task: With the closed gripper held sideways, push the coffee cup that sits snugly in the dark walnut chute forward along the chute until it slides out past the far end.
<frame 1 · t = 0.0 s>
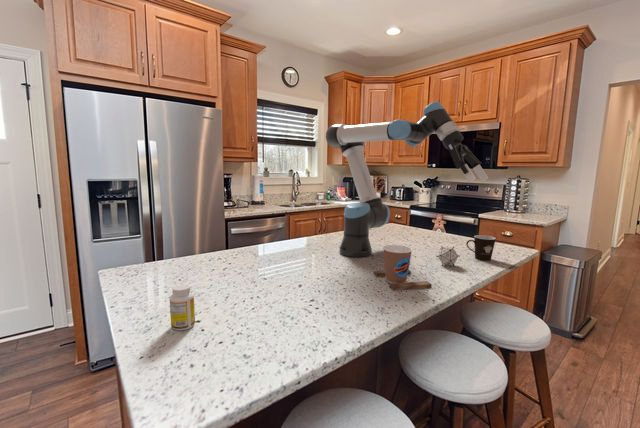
hand: (479, 180, 122), 36 cm above the countertop, tool tilted 35°, fingers open, 13 cm apart
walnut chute: (400, 280, 116), on the countertop
game die: (447, 265, 135), on the countertop
coffee cup: (395, 281, 115), on the countertop
coffee mug: (479, 258, 146), on the countertop
supplement bottle: (183, 326, 81), on the countertop
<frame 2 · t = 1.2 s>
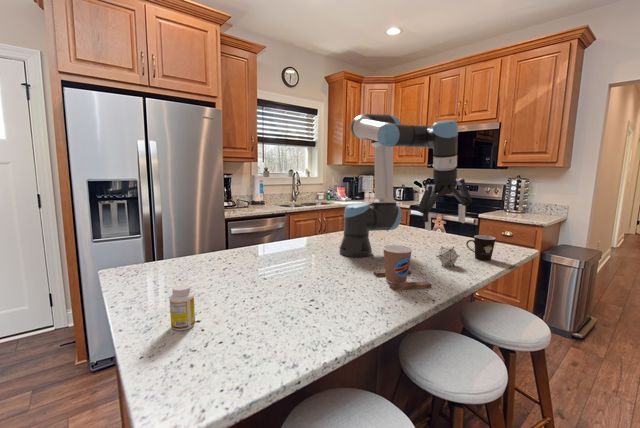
hand: (444, 225, 116), 20 cm above the countertop, tool pointing down, fingers open, 13 cm apart
nothing on the countertop moved.
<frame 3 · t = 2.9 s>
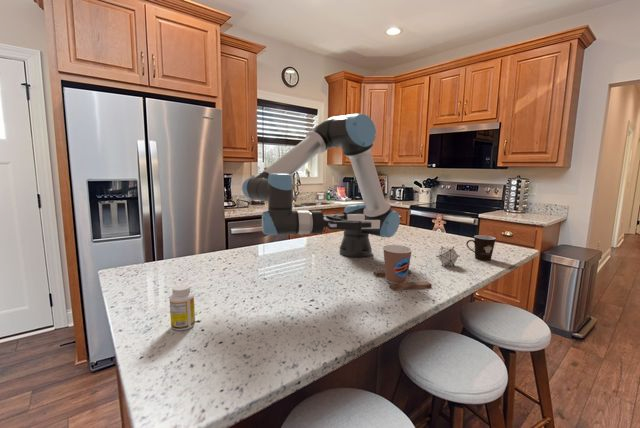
hand: (371, 220, 110), 22 cm above the countertop, tool horizontal, fingers open, 12 cm apart
nothing on the countertop moved.
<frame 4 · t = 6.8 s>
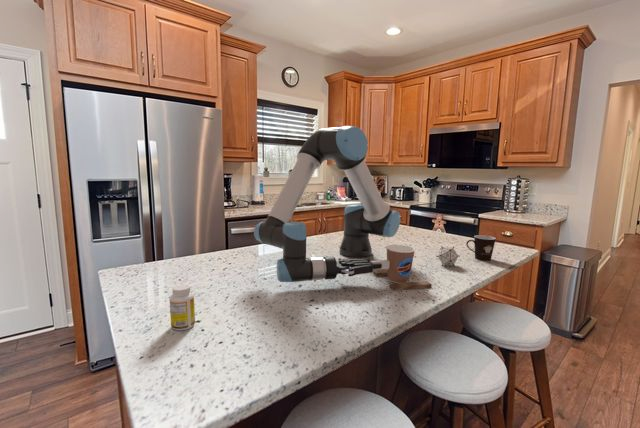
hand: (388, 264, 113), 7 cm above the countertop, tool horizontal, fingers closed
coffee cup: (398, 280, 116), on the countertop, touching gripper
everything else where it was.
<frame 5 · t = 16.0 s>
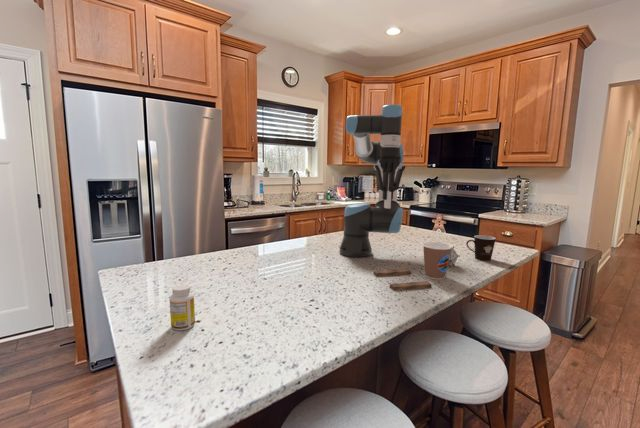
hand: (387, 207, 127), 24 cm above the countertop, tool pointing down, fingers closed
coffee cup: (434, 276, 121), on the countertop
everything else where it was.
at the end: coffee cup inside the target area (4.6 cm from its centre), on the countertop; coffee cup tilted 0°; coffee cup moved 16.9 cm from its start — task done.
